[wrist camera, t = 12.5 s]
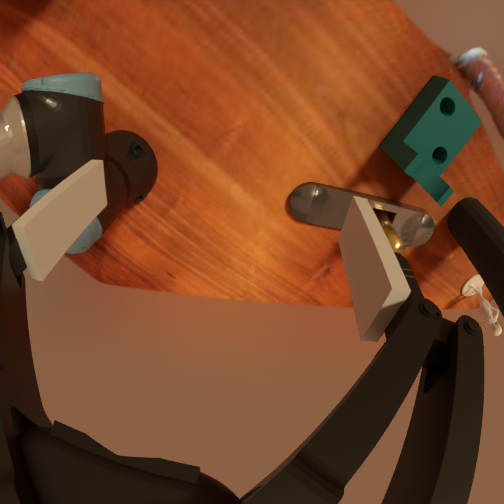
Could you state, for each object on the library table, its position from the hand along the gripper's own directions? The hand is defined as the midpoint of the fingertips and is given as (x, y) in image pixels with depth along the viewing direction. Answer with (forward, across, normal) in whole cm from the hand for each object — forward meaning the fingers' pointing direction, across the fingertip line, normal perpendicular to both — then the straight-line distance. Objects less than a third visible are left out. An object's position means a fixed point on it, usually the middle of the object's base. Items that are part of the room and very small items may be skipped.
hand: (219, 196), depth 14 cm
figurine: (+37, +64, -30) cm, 80 cm away
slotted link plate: (+37, +24, -17) cm, 47 cm away
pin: (+37, +26, -17) cm, 48 cm away
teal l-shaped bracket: (+37, +30, +3) cm, 48 cm away
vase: (+37, +48, -12) cm, 62 cm away
